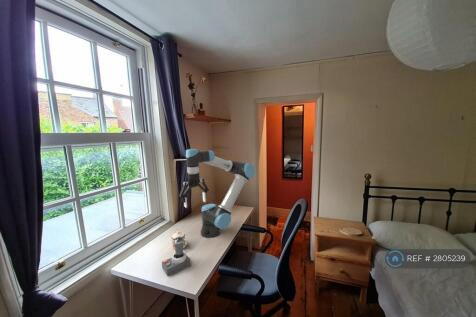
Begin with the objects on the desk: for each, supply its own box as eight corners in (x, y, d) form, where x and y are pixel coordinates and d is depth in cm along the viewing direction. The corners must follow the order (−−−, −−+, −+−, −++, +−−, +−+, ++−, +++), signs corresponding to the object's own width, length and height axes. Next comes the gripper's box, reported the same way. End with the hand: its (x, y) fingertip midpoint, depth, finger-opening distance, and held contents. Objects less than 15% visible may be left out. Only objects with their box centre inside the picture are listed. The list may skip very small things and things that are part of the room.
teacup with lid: (169, 249, 134) (168, 233, 133) (178, 242, 142) (177, 227, 141) (183, 253, 130) (182, 236, 128) (191, 245, 138) (190, 230, 136)
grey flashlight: (177, 256, 120) (176, 236, 118) (185, 256, 120) (183, 236, 118) (174, 261, 115) (173, 240, 113) (182, 261, 115) (180, 241, 113)
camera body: (184, 257, 125) (183, 248, 124) (190, 264, 118) (189, 255, 117) (162, 267, 116) (161, 258, 115) (167, 276, 109) (166, 265, 108)
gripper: (207, 169, 136) (208, 198, 139) (172, 175, 120) (174, 207, 123) (212, 170, 130) (214, 200, 133) (176, 177, 114) (179, 211, 117)
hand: (195, 204), depth 128 cm, fingers open, 13 cm apart
